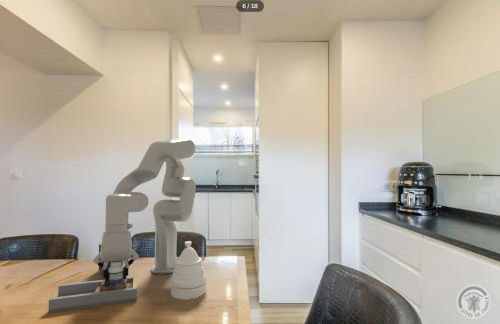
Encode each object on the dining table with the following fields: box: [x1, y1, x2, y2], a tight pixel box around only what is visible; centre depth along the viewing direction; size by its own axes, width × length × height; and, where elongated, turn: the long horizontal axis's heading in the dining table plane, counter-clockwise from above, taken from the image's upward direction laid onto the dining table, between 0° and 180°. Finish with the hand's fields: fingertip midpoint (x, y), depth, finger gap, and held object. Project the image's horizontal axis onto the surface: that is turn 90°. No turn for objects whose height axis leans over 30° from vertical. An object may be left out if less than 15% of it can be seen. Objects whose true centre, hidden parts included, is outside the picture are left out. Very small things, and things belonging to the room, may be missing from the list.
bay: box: [48, 275, 138, 314], centre depth 104 cm, size 26×13×4 cm, turn 111°
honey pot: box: [170, 240, 207, 300], centre depth 110 cm, size 13×13×18 cm
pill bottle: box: [108, 260, 124, 287], centre depth 106 cm, size 5×5×10 cm
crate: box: [95, 276, 132, 292], centre depth 106 cm, size 12×9×4 cm
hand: (116, 278), depth 106 cm, fingers closed on pill bottle, 5 cm apart
